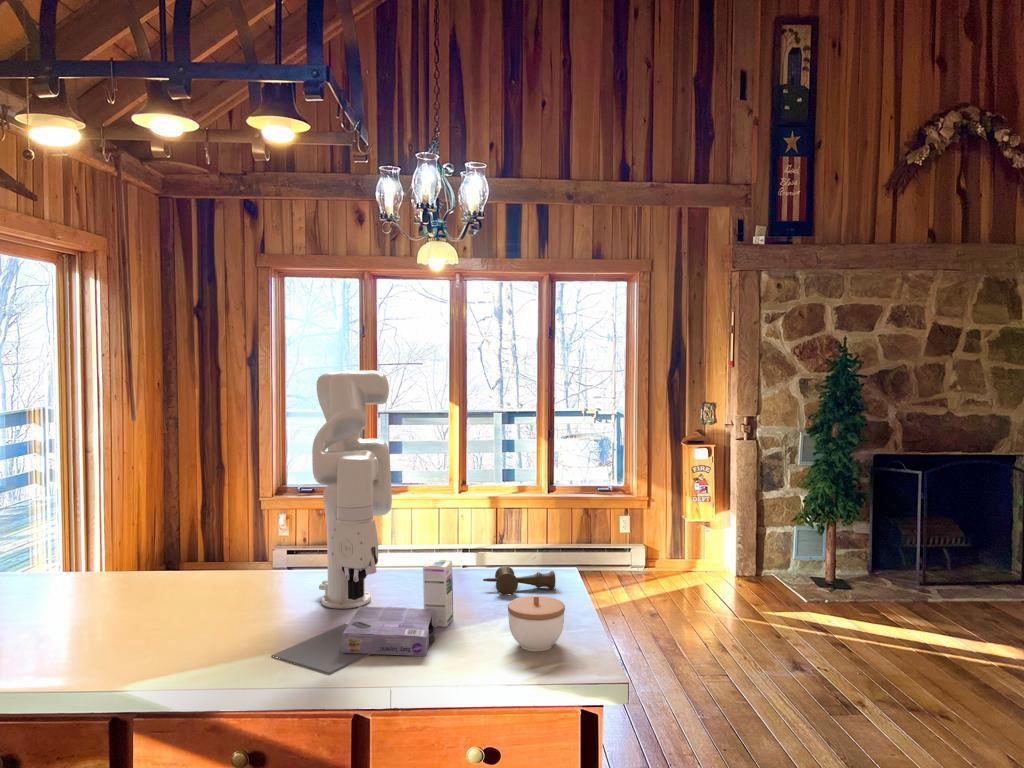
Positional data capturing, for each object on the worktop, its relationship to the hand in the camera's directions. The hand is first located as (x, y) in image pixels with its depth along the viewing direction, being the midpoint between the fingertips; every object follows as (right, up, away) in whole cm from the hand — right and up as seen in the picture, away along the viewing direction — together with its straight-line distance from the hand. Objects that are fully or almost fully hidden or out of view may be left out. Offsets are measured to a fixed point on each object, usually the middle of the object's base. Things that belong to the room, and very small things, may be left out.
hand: (355, 597), depth 162 cm
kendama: (+36, -11, +45) cm, 58 cm away
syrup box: (+16, -12, +19) cm, 27 cm away
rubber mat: (-5, -12, +3) cm, 13 cm away
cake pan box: (+7, -10, -2) cm, 12 cm away
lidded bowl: (+39, -12, +5) cm, 41 cm away
